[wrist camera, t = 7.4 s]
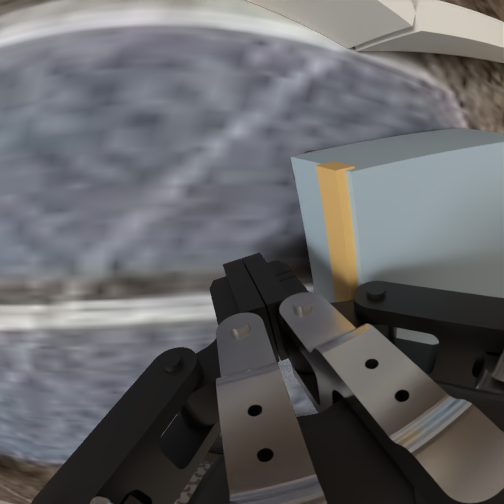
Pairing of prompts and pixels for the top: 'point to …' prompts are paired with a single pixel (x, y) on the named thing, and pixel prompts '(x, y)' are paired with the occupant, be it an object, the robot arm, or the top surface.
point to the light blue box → (406, 214)
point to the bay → (398, 25)
